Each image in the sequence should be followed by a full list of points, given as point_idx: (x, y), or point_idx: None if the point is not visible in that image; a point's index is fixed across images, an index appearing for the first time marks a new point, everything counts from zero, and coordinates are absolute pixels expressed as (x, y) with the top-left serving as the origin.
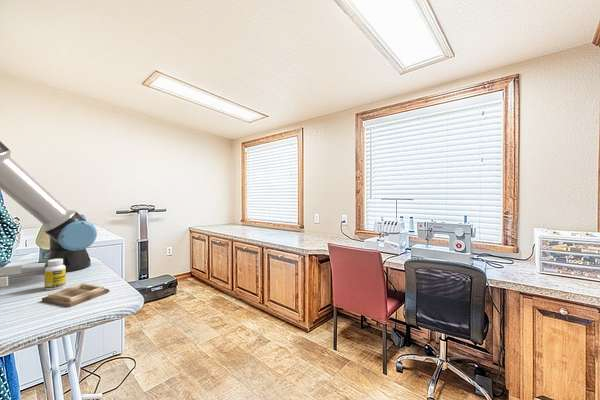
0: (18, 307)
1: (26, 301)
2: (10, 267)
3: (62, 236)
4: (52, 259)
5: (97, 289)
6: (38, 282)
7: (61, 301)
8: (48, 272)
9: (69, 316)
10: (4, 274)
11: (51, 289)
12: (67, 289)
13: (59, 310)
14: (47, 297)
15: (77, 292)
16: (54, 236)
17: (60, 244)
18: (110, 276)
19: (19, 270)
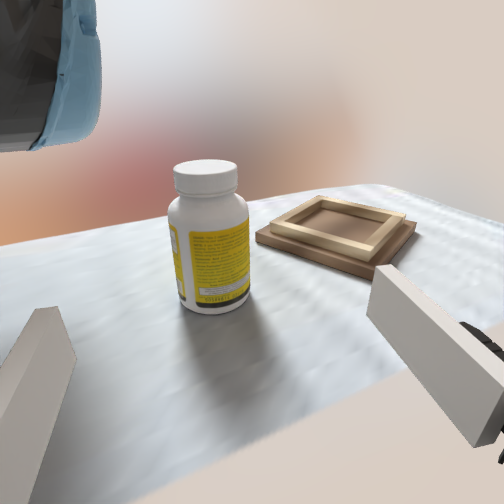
0: None
1: None
2: (33, 362)
3: (83, 27)
4: (185, 171)
5: (335, 199)
6: None
7: (402, 234)
8: (245, 224)
9: (466, 222)
10: (38, 452)
11: (249, 291)
12: (322, 233)
13: (438, 239)
14: (369, 262)
15: (328, 228)
16: (4, 25)
17: (60, 97)
18: (160, 221)
19: (64, 346)
